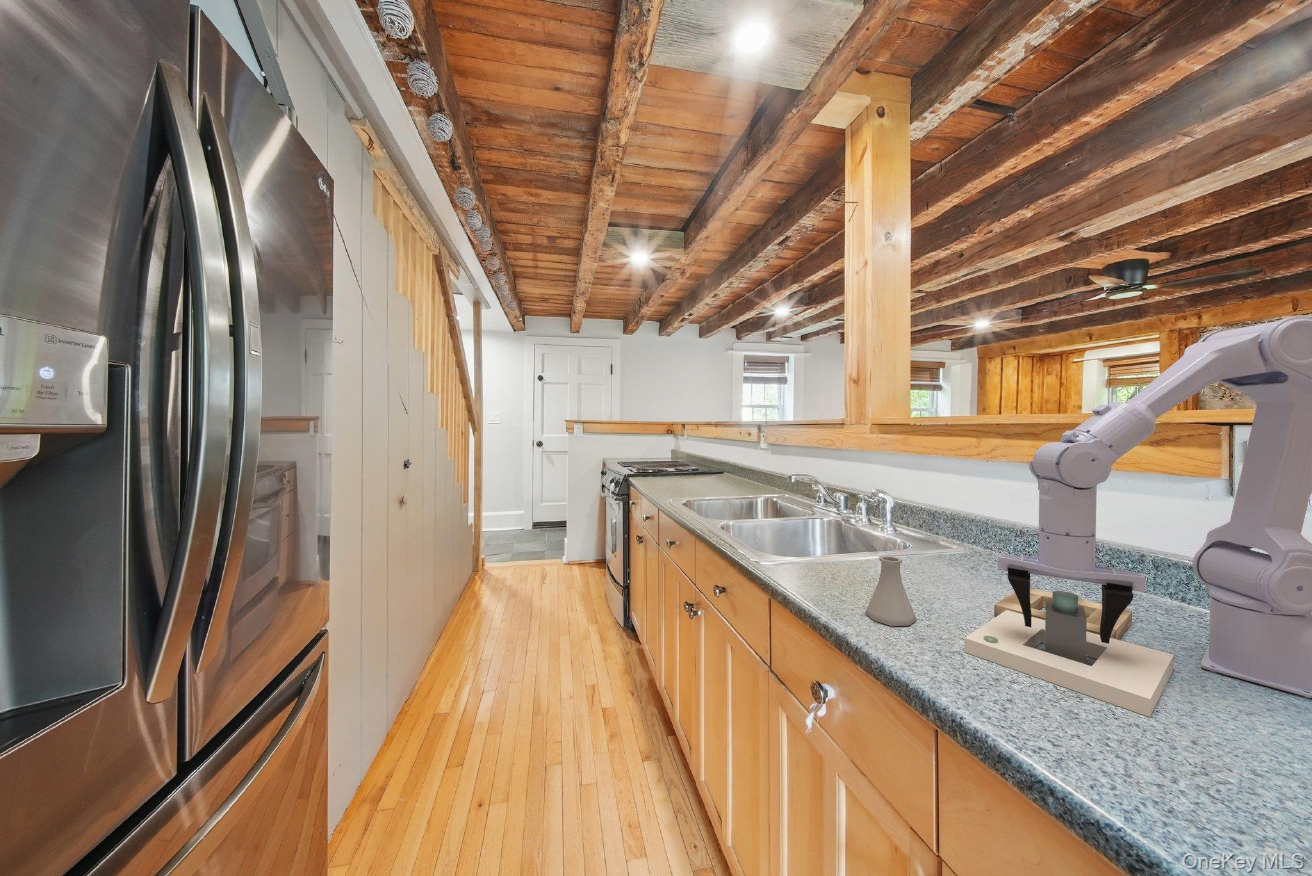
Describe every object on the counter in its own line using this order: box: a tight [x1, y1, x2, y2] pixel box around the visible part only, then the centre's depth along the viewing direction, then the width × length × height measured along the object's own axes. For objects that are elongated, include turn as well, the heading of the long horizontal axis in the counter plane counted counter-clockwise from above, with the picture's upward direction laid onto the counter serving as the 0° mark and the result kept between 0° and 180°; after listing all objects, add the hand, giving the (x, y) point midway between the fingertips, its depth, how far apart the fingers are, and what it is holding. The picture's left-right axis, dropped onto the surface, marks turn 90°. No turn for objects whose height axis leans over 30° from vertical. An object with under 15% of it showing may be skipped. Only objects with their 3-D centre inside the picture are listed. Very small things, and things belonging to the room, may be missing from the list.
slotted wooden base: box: [993, 587, 1133, 640], centre depth 75 cm, size 14×14×2 cm
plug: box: [1044, 590, 1087, 665], centre depth 62 cm, size 4×5×9 cm
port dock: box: [963, 610, 1175, 718], centre depth 62 cm, size 18×16×2 cm
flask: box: [864, 555, 918, 627], centre depth 76 cm, size 7×7×10 cm
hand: (1064, 631), depth 62 cm, fingers open, 7 cm apart
